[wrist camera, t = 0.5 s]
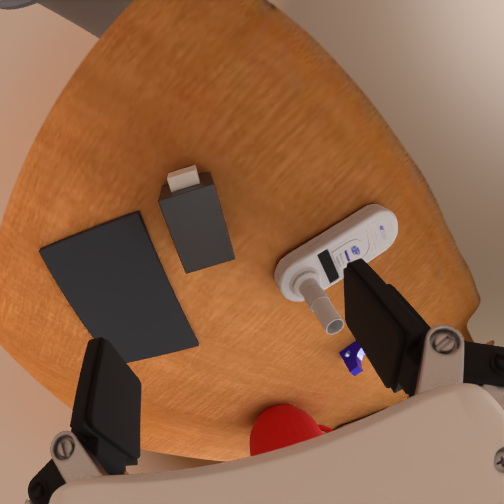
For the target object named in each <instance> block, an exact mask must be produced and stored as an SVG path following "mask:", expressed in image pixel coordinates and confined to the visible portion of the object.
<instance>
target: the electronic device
mask: <svg viewBox="0 0 504 504" xmlns="http://www.w3.org/2000/svg"><path fill="white" fill-rule="evenodd" d="M397 232H398V223H397V219H396V217H395V215H394V214H393V212H391V211H390V210H388V209H387V208H385V207H383V206H382V205H379V204H370V205H367V206H365V207H363V208H362V209H360V210H358V211H357V212H355V213H354V214H352V215H350V216H349V217H347V218H346V219H344V220H342V221H341V222H339V223H337V224H336V225H334V226H333V227H331V228H329V229H328V230H326V231H324V232H323V233H321V234H320V235H318V236H316V237H315V238H313V239H311V240H310V241H308V242H307V243H305V244H303V245H302V246H300V247H298V248H297V249H295V250H293V251H292V252H290V253H289V254H287V255H286V256H285V257H283V258H282V259H281V260H280V261H279V263H278V265H277V266H276V269H275V273H274V277H275V282H276V284H277V286H278V288H279V290H280V292H281V293H282V295H283V296H284V297H285V298H287V299H288V300H291V301H297V302H298V301H306V303H307V304H308V306H309V308H310V309H311V311H312V312H313V313H315V315H316V317H317V318H318V320H319V321H320V323H321V325H322V326H323V328H324V329H325V331H326V333H327V334H330V335H332V334H336V333H338V332H339V331H340V330H341V329H342V328H343V327H344V320H343V319H342V318H341V316H340V315H339V313H338V312H337V311H336V309H335V308H334V306H333V305H332V304H331V302H330V299H329V297H328V296H327V295H326V293H325V292H324V290H325V289H327V288H328V287H329V286H332V285H333V284H335V283H336V282H338V281H340V280H341V279H343V278H344V275H343V269H344V268H346V267H347V263H349V262H352V261H354V260H357V259H360V258H361V259H363V260H364V261H365V262H366V263H367V262H369V261H370V260H372V259H373V258H375V257H376V256H378V255H379V254H381V253H382V252H384V251H385V250H387V249H388V248H389V247H390V246H391V244H392V243H393V242H394V240H395V238H396V236H397Z"/></svg>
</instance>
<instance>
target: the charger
mask: <svg viewBox="0 0 504 504" xmlns="http://www.w3.org/2000/svg"><path fill="white" fill-rule="evenodd" d="M167 181H168V184H167V185H164V186H162V188H161V192H160V196H159V200H158V202H159V205H160V208H161V210H162V213H163V216H164V219H165V221H166V224H167V227H168V229H169V232H170V235H171V237H172V240H173V242H174V245H175V247H176V250H177V253H178V255H179V258H180V260H181V263H182V265H183V268H184V270H185V273H186V274H187V273H190V272H194V271H197V270H200V269H204V268H207V267H210V266H214V265H217V264H220V263H224V262H227V261H230V260H234V259H235V255H234V252H233V248H232V245H231V241H230V238H229V234H228V231H227V227H226V224H225V220H224V217H223V213H222V210H221V206H220V203H219V199H218V196H217V192H216V189H215V185H214V182H213V179H212V176H211V173H210V172H206V173H203V174H199V175H198V172H197V169H196V165H193V166H190V167H186V168H183V169H180V170H177V171H174V172H171V173H168V177H167Z"/></svg>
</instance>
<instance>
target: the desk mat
mask: <svg viewBox="0 0 504 504" xmlns="http://www.w3.org/2000/svg"><path fill="white" fill-rule="evenodd" d="M39 253H40V254H41V256H42V258H43V260H44V262H45V264H46V265H47V267H48V269H49V271H50V272H51V274H52V276H53V278H54V279H55V281H56V283H57V284H58V286H59V288H60V289H61V291H62V292H63V294H64V296H65V297H66V299H67V300H68V302H69V303H70V305H71V306H72V308H73V309H74V311H75V312H76V314H77V315H78V317H79V318H80V320H81V321H82V323H83V324H84V326H85V327H86V328H87V330H88V331H89V333H90V334H91V335H92V337H93V338H94V339H95V338H99V337H103V338H104V339H105V340H109V341H110V343H111V344H112V345H113V347H114V348H115V349H116V351H117V352H118V353H119V355H120V356H121V357H122V359H123V360H124V361H125V362H126V363H129V362H133V361H138V360H142V359H147V358H151V357H155V356H160V355H164V354H168V353H172V352H176V351H180V350H184V349H188V348H192V347H196V346H199V343H198V341H197V339H196V337H195V335H194V333H193V331H192V329H191V327H190V325H189V323H188V321H187V319H186V317H185V315H184V313H183V310H182V308H181V306H180V304H179V302H178V300H177V298H176V296H175V294H174V291H173V289H172V287H171V285H170V283H169V281H168V278H167V276H166V274H165V272H164V269H163V267H162V265H161V263H160V260H159V258H158V256H157V253H156V251H155V249H154V246H153V244H152V242H151V239H150V237H149V234H148V232H147V229H146V227H145V225H144V222H143V220H142V217H141V214H140V212H139V211H137V212H134V213H131V214H128V215H125V216H122V217H120V218H117V219H114V220H111V221H109V222H106V223H103V224H101V225H98V226H95V227H93V228H90V229H87V230H85V231H82V232H80V233H77V234H75V235H72V236H70V237H67V238H65V239H62V240H60V241H57V242H55V243H53V244H50V245H48V246H45V247H43V248H41V249H40V250H39Z"/></svg>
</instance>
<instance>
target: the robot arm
mask: <svg viewBox="0 0 504 504" xmlns="http://www.w3.org/2000/svg"><path fill="white" fill-rule="evenodd" d="M343 275H344V298H345V320H346V324H347V326H348V328H349V329H350V331H351V332H352V334H353V335H354V337H355V339H356V340H357V342H358V343H359V345H360V346H361V348H362V350H363V351H364V353H365V354H366V356H367V358H368V359H369V361H370V362H371V364H372V366H373V367H374V369H375V370H376V372H377V374H378V375H379V377H380V379H381V380H382V382H383V383H384V385H385V386H386V388H390V387H391V389H392V390H393V392H394V393H396V392H398V391H400V390H402V389H403V390H404V392H405V393H406V394H408V396H407V399H405V400H403V401H401V402H399V403H396V404H394V405H392V406H390V407H388V408H386V409H384V410H382V411H379V412H377V413H375V414H373V415H370V416H368V417H366V418H363V419H361V420H359V421H356V422H354V423H351V424H349V425H347V426H344V427H342V428H339V429H337V430H334V431H331V432H329V433H326V434H323V435H321V436H318V437H315V438H312V439H309V440H306V441H303V442H300V443H297V444H294V445H290V446H287V447H284V448H281V449H277V450H274V451H270V452H266V453H262V454H259V455H255V456H251V457H246V458H242V459H238V460H233V461H228V462H224V463H218V464H213V465H207V466H201V467H195V468H189V469H182V470H173V471H165V472H154V473H141V474H128V473H127V472H126V466H128V465H137V458H139V457H140V413H141V382H140V380H139V378H138V377H137V376H136V375H135V374H134V372H133V371H132V370H131V369H130V367H129V366H128V365H127V364H126V362H125V361H124V360H123V359H122V357H121V356H120V355H119V353H118V352H117V351H116V349H115V348H114V347H113V345H112V344H111V343H110V341H109V340H105V339H104V338H103V337H99V338H95V339H91V340H89V341H88V344H87V348H86V352H85V356H84V360H83V364H82V368H81V373H80V377H79V381H78V386H77V391H76V396H75V401H74V406H73V412H72V418H71V424H70V427H71V428H72V429H71V432H70V431H63V432H60V433H59V434H57V435H56V436H55V437H54V439H53V441H52V443H51V447H50V453H51V456H52V459H51V460H50V461H49V462H48V463H47V464H46V465H45V467H44V468H42V470H40V471H39V472H38V474H37V475H36V476H35V477H34V478H33V479H32V480H31V481H30V483H29V487H28V494H29V498H30V501H29V500H26V502H25V504H504V347H499V346H493V345H486V344H480V343H473V342H467V341H464V338H463V336H462V334H461V332H459V331H458V330H457V329H456V328H454V327H452V326H449V325H438V326H434V327H433V328H430V327H429V325H428V324H427V323H426V322H425V321H424V320H423V318H422V317H421V316H420V315H419V314H418V313H417V312H416V311H415V309H414V308H413V307H412V306H411V305H410V304H409V303H408V302H407V301H406V299H405V298H404V297H403V296H402V295H401V294H400V293H399V292H398V291H397V290H396V289H395V288H394V287H393V286H392V285H391V284H386V283H385V282H384V281H383V280H382V279H381V278H380V277H379V276H378V274H377V273H376V272H375V271H374V270H373V269H372V268H371V267H370V266H369V265H368V264H367V263H366V262H365V261H364V260H363V259H361V258H360V259H357V260H354V261H352V262H349V263H347V267H346V268H344V269H343Z"/></svg>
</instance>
